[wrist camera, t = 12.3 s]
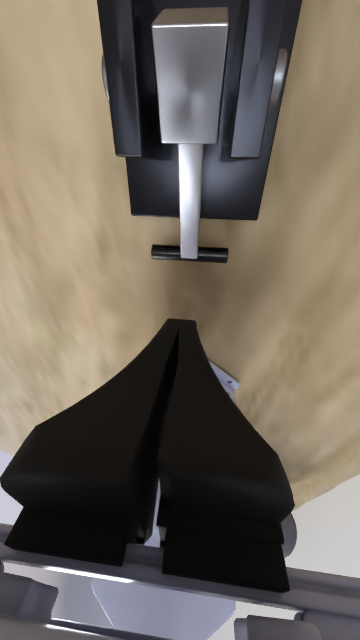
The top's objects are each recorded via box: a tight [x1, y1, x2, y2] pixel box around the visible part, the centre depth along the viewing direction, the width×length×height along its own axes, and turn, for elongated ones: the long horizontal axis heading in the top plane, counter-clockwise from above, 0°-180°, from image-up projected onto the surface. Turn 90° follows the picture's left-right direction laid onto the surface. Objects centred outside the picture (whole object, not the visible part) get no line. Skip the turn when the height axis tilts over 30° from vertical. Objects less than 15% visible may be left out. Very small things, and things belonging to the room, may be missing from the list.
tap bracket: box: [97, 0, 302, 220], centre depth 10 cm, size 11×9×9 cm
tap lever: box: [151, 7, 230, 263], centre depth 11 cm, size 10×5×2 cm, turn 178°
